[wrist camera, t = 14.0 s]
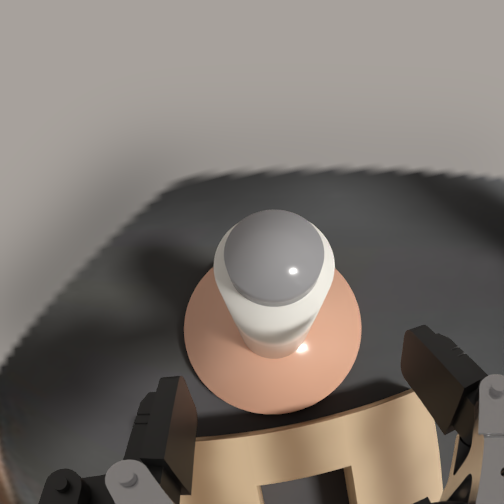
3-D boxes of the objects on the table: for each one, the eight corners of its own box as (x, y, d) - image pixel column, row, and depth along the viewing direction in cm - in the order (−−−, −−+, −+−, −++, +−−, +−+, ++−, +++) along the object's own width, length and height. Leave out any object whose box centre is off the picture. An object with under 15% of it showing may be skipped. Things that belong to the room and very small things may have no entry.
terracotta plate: (332, 236, 27) (334, 232, 26) (376, 389, 20) (379, 388, 19) (180, 264, 26) (177, 260, 26) (198, 424, 20) (196, 425, 19)
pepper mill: (299, 288, 24) (318, 190, 13) (314, 350, 21) (355, 297, 11) (235, 300, 24) (203, 210, 13) (246, 364, 21) (217, 325, 11)
